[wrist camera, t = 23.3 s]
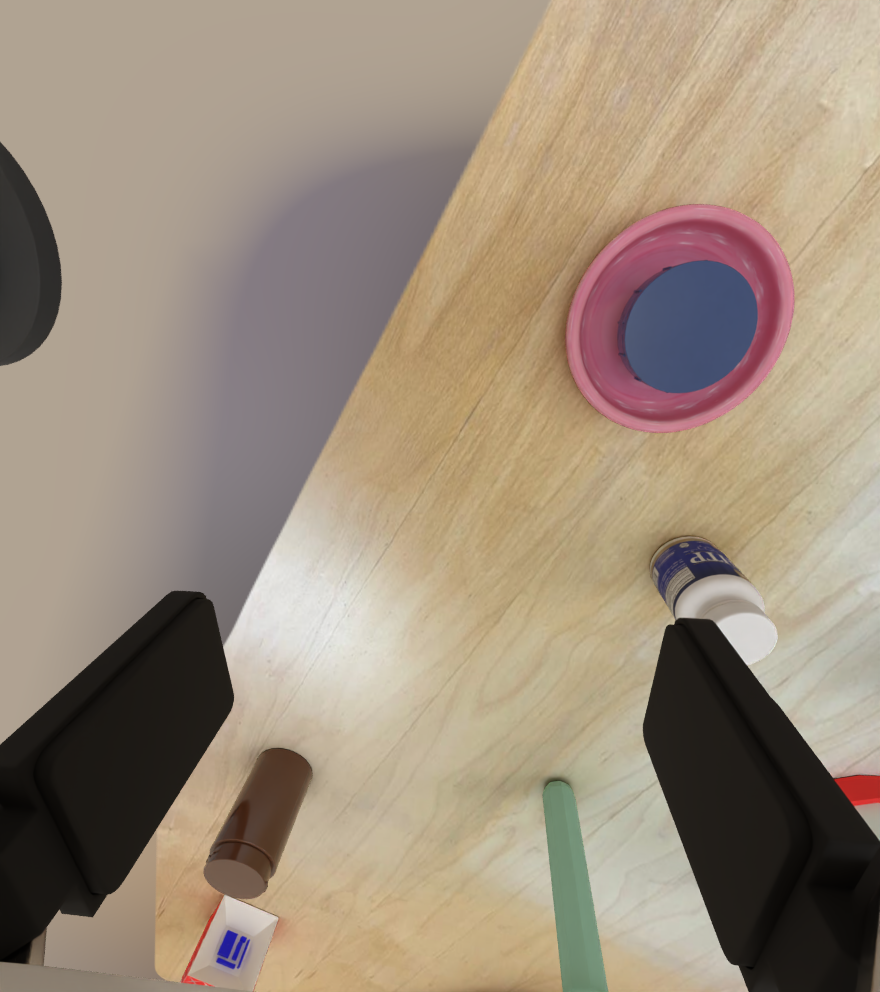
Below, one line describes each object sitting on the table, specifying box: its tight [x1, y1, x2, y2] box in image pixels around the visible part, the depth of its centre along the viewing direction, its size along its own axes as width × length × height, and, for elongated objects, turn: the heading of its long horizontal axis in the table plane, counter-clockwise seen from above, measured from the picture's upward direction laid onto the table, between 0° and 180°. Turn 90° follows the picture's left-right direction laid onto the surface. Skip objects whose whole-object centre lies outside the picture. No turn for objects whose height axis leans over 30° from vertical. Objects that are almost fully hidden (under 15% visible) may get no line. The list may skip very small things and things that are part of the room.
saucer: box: [565, 204, 794, 433], centre depth 27 cm, size 12×12×3 cm
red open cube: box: [180, 895, 279, 991], centre depth 58 cm, size 8×8×8 cm
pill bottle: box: [650, 536, 777, 665], centre depth 31 cm, size 5×5×9 cm
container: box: [543, 781, 608, 992], centre depth 38 cm, size 4×4×16 cm
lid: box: [617, 260, 758, 393], centre depth 25 cm, size 7×7×2 cm
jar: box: [204, 748, 312, 899], centre depth 44 cm, size 6×6×10 cm
